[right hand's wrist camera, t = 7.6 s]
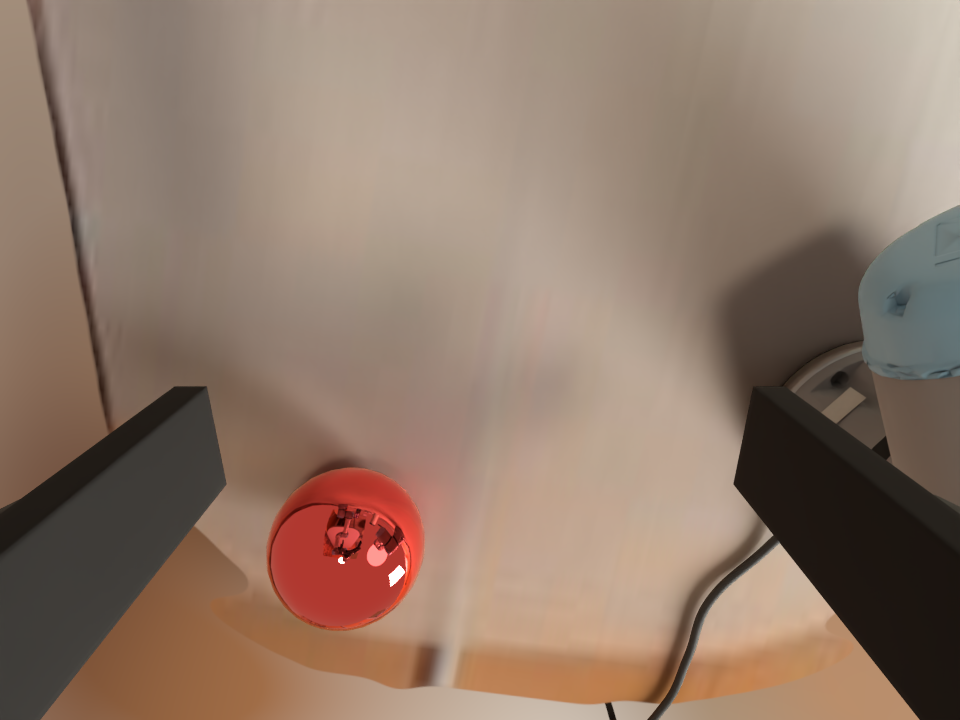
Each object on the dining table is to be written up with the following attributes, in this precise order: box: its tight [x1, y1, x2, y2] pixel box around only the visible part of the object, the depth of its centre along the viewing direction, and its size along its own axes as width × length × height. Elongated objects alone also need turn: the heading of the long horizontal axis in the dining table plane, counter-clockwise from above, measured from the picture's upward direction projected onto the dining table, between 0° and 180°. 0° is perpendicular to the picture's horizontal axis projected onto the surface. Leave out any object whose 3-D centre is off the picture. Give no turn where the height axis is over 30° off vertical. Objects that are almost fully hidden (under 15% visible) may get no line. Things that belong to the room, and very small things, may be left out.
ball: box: [266, 467, 425, 631], centre depth 41 cm, size 12×12×12 cm
